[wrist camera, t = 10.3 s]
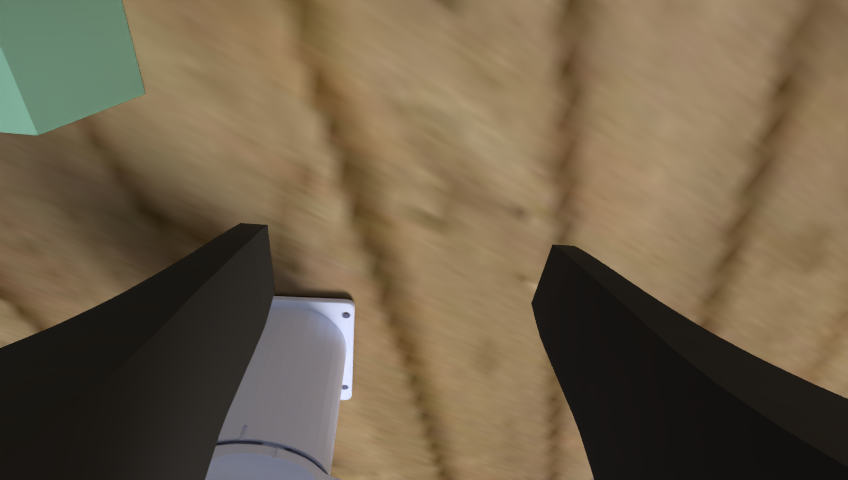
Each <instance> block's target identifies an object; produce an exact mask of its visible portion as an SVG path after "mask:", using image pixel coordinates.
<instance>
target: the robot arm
mask: <svg viewBox="0 0 848 480" xmlns="http://www.w3.org/2000/svg"><path fill="white" fill-rule="evenodd" d="M274 292H275V288H274V279H273V270H272V261H271V252H270V244H269V235H268V226H267V225H259V224H245V223H240V224H239V225H237V226H235V227H233V228H231V229H230V230H228V231H226V232H225V233H223V234H221V235H220V236H218V237H217V238H215V239H213V240H212V241H210V242H209V243H207V244H205V245H204V246H202V247H201V248H199V249H197V250H196V251H194V252H193V253H191V254H189V255H188V256H186V257H184V258H183V259H181V260H180V261H178V262H176V263H175V264H173V265H171V266H170V267H168V268H166V269H164V270H163V271H161V272H159V273H157V274H156V275H154V276H152V277H150V278H148V279H147V280H145V281H143V282H141V283H139V284H138V285H136V286H134V287H132V288H131V289H129V290H127V291H125V292H123V293H122V294H120V295H118V296H116V297H114V298H112V299H110V300H108V301H106V302H104V303H102V304H100V305H98V306H96V307H94V308H92V309H90V310H88V311H85V312H83V313H81V314H79V315H77V316H75V317H73V318H70V319H68V320H66V321H64V322H62V323H60V324H57V325H55V326H53V327H51V328H48V329H46V330H44V331H41V332H39V333H36V334H34V335H31V336H29V337H27V338H24V339H22V340H19V341H17V342H14V343H12V344H9V345H7V346H4V347H2V348H0V480H341V479H339V478H335V477H332V476H330V474H331V466H332V458H333V451H334V443H335V436H336V428H337V420H338V413H339V405H340V400H347V399H350V398H351V396H352V376H353V346H354V316H355V304H354V302H353V301H351V300H348V299H329V298H307V297H285V296H274ZM531 304H532V308H533V312H534V316H535V320H536V324H537V328H538V331H539V335H540V338H541V340H542V343H543V345H544V348H545V350H546V353H547V355H548V357H549V360H550V362H551V365H552V367H553V369H554V372H555V374H556V376H557V379H558V381H559V383H560V386H561V388H562V390H563V393H564V395H565V397H566V400H567V402H568V404H569V407H570V409H571V411H572V414H573V416H574V419H575V422H576V424H577V427H578V429H579V432H580V435H581V438H582V441H583V445H584V448H585V451H586V454H587V457H588V461H589V464H590V467H591V470H592V473H593V477H594V480H848V399H847V398H844V397H842V396H840V395H838V394H835V393H833V392H831V391H828V390H826V389H824V388H821V387H819V386H817V385H815V384H812V383H810V382H808V381H806V380H804V379H802V378H800V377H798V376H795V375H793V374H791V373H789V372H787V371H785V370H783V369H781V368H778V367H776V366H774V365H772V364H770V363H768V362H766V361H764V360H762V359H760V358H758V357H756V356H754V355H752V354H750V353H748V352H746V351H744V350H742V349H741V348H739V347H737V346H735V345H733V344H731V343H729V342H728V341H726V340H724V339H722V338H720V337H718V336H716V335H715V334H713V333H711V332H709V331H708V330H706V329H704V328H702V327H701V326H699V325H697V324H695V323H694V322H692V321H690V320H689V319H687V318H686V317H684V316H682V315H681V314H679V313H677V312H676V311H674V310H673V309H671V308H669V307H668V306H666V305H665V304H663V303H662V302H660V301H658V300H657V299H655V298H654V297H652V296H651V295H649V294H648V293H646V292H645V291H643V290H642V289H640V288H639V287H637V286H636V285H634V284H633V283H631V282H630V281H628V280H627V279H625V278H624V277H622V276H621V275H620V274H618V273H617V272H615V271H614V270H612V269H611V268H609V267H608V266H606V265H605V264H603V263H602V262H600V261H599V260H597V259H596V258H594V257H593V256H591V255H589V254H588V253H586V252H585V251H583V250H581V249H579V248H577V247H575V246H567V245H552V248H551V250H550V253H549V256H548V259H547V261H546V264H545V267H544V270H543V273H542V275H541V278H540V281H539V284H538V287H537V289H536V292H535V295H534V298H533V300H532V303H531ZM344 312H348V313H349V314H344Z"/></svg>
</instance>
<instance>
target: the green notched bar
mask: <svg viewBox="0 0 848 480" xmlns="http://www.w3.org/2000/svg"><path fill="white" fill-rule="evenodd" d="M144 94H145V90H144V86H143V83H142V79H141V75H140V71H139V67H138V63H137V59H136V55H135V51H134V47H133V43H132V39H131V35H130V31H129V28H128V24H127V20H126V16H125V12H124V8H123V4H122V0H0V132H4V133H16V134H27V135H40V134H43V133H46V132H48V131H51V130H53V129H56V128H59V127H61V126H64V125H66V124H69V123H72V122H74V121H77V120H79V119H82V118H84V117H87V116H90V115H92V114H95V113H97V112H100V111H103V110H105V109H108V108H110V107H113V106H115V105H118V104H121V103H123V102H126V101H128V100H131V99H134V98H136V97H139V96H141V95H144Z"/></svg>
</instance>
